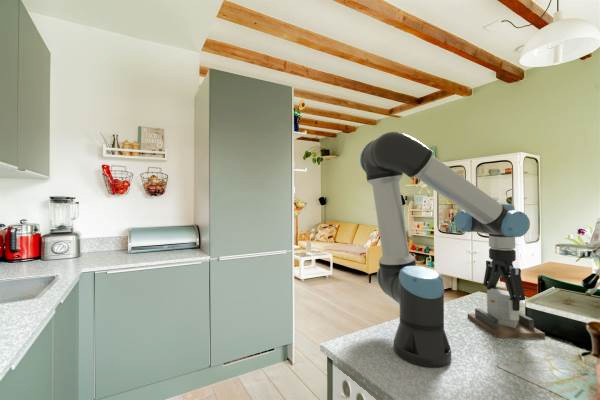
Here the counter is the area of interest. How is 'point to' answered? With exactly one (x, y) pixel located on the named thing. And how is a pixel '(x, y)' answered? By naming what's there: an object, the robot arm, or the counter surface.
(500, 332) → the mounting plate
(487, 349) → the counter surface
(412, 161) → the robot arm
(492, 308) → the small box
